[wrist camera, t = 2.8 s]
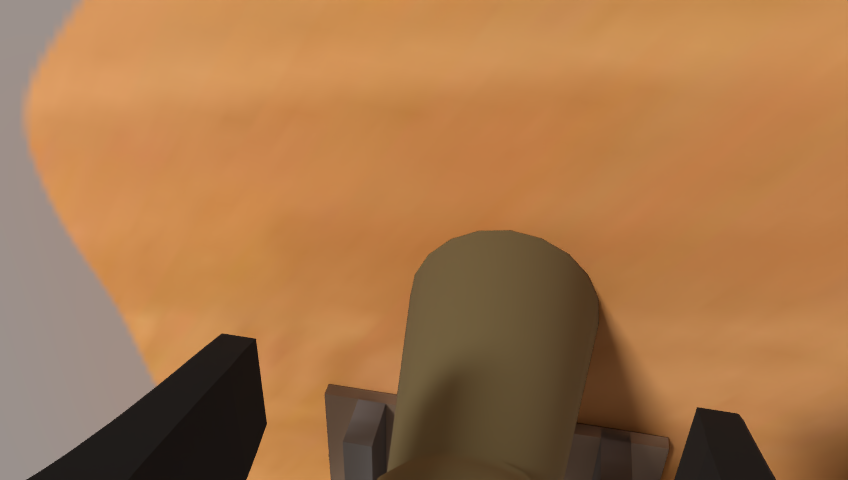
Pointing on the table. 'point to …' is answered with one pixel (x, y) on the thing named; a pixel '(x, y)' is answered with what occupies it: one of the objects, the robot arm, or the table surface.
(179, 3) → the table surface
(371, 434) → the shaker socket
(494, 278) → the olive rounded tapered post
